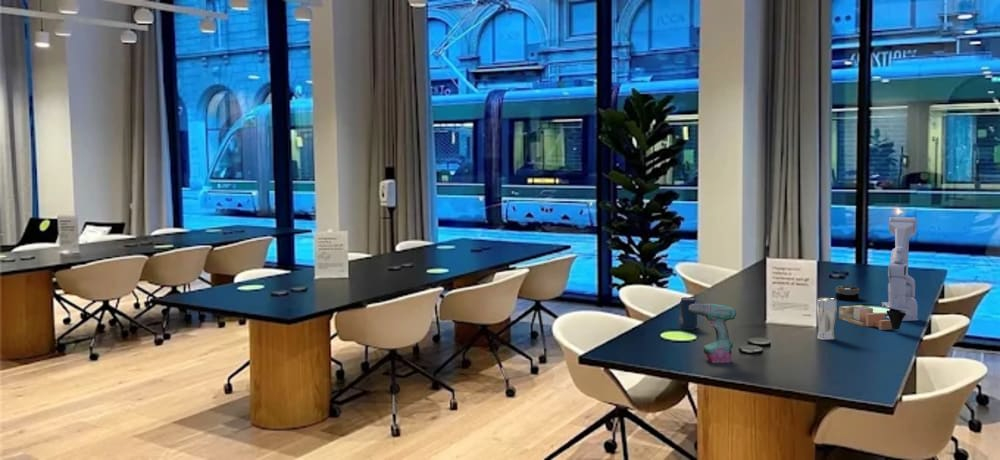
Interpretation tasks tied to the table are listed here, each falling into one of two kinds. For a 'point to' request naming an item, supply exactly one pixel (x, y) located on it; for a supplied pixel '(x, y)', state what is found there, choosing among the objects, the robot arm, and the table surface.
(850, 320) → the vise body
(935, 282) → the table surface
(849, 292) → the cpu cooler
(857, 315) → the block
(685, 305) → the soda can
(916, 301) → the robot arm
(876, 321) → the brown stepped block
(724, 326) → the power drill
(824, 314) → the beer glass
